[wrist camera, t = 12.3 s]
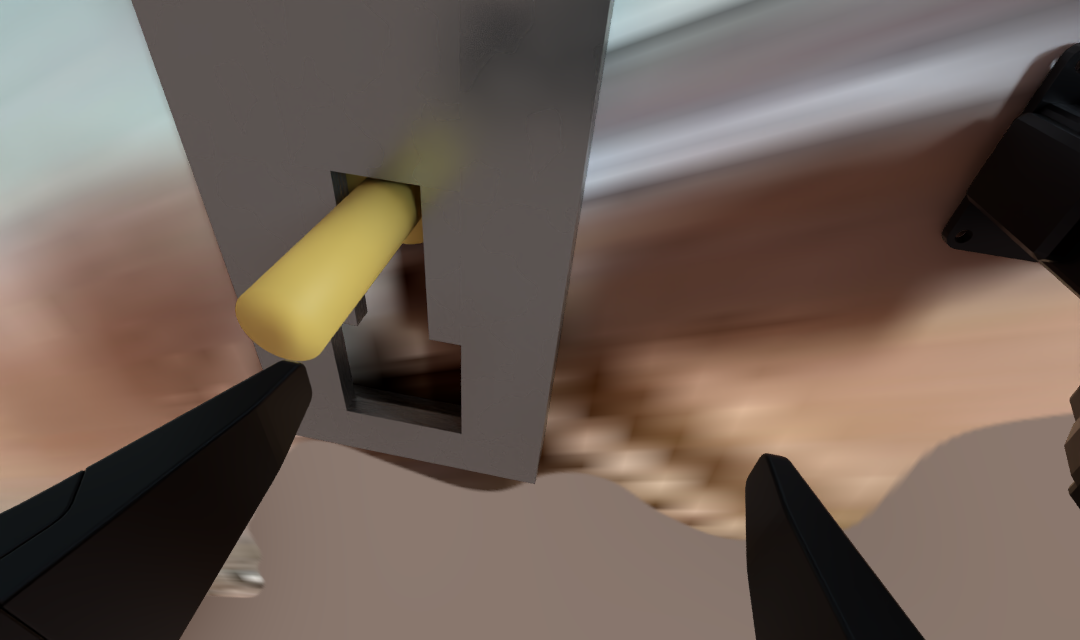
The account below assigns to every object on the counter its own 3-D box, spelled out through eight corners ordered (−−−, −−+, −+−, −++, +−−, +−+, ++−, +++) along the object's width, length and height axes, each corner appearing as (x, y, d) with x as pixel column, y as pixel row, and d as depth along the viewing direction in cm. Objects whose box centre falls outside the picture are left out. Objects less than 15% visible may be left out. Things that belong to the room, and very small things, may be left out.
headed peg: (460, 137, 19) (344, 274, 12) (460, 235, 22) (366, 396, 14) (353, 120, 19) (176, 244, 12) (366, 219, 22) (228, 369, 15)
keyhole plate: (616, -13, 15) (610, 0, 13) (543, 439, 29) (534, 483, 27) (184, -71, 16) (107, -68, 14) (313, 393, 30) (285, 432, 28)
